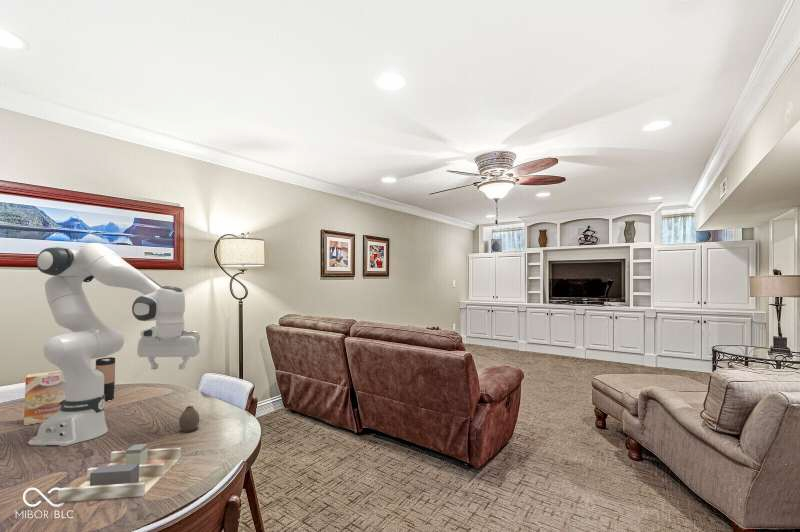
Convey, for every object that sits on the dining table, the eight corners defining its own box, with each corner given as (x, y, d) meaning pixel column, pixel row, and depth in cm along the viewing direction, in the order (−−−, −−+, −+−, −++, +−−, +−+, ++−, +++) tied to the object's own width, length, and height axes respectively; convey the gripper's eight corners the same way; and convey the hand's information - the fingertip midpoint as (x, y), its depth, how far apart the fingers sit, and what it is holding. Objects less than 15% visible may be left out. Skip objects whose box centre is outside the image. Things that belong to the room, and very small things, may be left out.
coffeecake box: (23, 426, 148) (25, 377, 149) (24, 421, 153) (26, 374, 154) (73, 417, 158) (74, 371, 159) (73, 413, 163) (74, 368, 164)
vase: (190, 434, 140) (190, 410, 140) (174, 432, 141) (174, 409, 142) (203, 427, 147) (203, 404, 147) (188, 425, 148) (188, 403, 148)
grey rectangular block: (125, 471, 110) (125, 450, 110) (133, 464, 114) (133, 444, 114) (140, 470, 111) (140, 449, 111) (147, 463, 115) (147, 443, 115)
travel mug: (101, 398, 185) (102, 357, 185) (118, 397, 185) (119, 357, 186) (90, 403, 177) (91, 360, 178) (107, 402, 178) (108, 360, 179)
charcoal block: (89, 492, 99) (90, 473, 99) (99, 484, 103) (100, 466, 103) (130, 489, 101) (130, 470, 101) (138, 481, 105) (139, 463, 105)
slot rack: (57, 506, 95) (58, 490, 95) (112, 464, 117) (113, 451, 117) (142, 499, 97) (142, 484, 98) (180, 460, 119) (180, 447, 119)
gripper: (203, 329, 140) (202, 366, 140) (145, 329, 138) (144, 367, 138) (196, 332, 134) (194, 370, 134) (135, 331, 132) (133, 371, 131)
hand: (168, 368), depth 136 cm, fingers open, 8 cm apart
